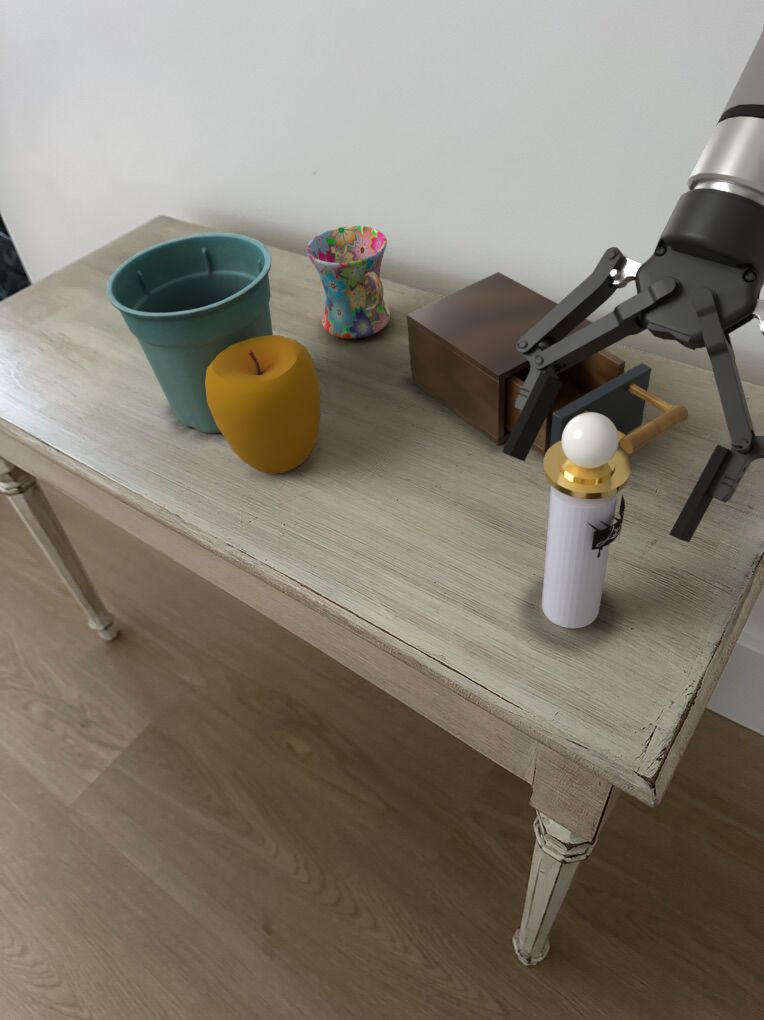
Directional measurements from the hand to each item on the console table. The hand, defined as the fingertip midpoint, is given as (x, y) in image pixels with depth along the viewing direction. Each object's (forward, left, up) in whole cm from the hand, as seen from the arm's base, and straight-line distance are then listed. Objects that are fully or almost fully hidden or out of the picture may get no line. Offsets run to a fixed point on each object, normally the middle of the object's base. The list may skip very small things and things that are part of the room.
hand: (590, 495), depth 56 cm
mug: (+32, -35, -12) cm, 49 cm away
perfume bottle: (0, +1, -12) cm, 12 cm away
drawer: (+4, -20, -11) cm, 24 cm away
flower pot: (+42, -18, -12) cm, 48 cm away
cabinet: (+13, -27, -12) cm, 32 cm away
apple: (+32, -11, -12) cm, 36 cm away
